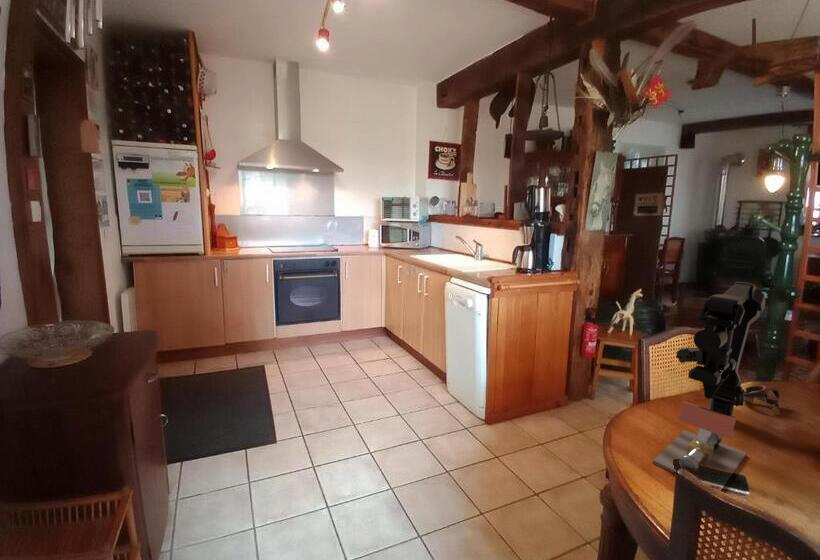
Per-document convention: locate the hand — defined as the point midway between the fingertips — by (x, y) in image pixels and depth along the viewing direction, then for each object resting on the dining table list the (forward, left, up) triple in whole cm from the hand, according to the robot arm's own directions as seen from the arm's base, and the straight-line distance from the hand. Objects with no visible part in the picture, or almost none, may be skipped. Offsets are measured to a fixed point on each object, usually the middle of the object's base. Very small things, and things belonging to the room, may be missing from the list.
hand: (708, 397), depth 113 cm
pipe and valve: (+12, +3, -11) cm, 17 cm away
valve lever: (+13, +3, -7) cm, 15 cm away
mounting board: (+13, +3, -12) cm, 18 cm away
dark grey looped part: (-37, +6, -12) cm, 39 cm away
